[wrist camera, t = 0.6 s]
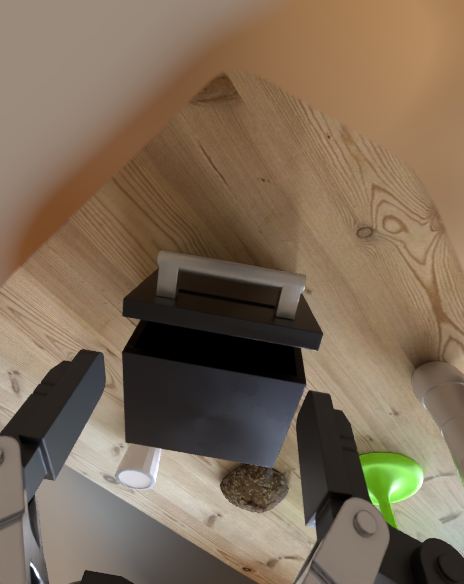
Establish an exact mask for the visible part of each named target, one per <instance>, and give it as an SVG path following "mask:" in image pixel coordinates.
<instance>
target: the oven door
mask: <svg viewBox="0 0 464 584" xmlns="http://www.w3.org/2000/svg"><path fill="white" fill-rule="evenodd" d="M157 267H158V269H157V270H156V271H155V272H153V273H152V274H151V275H150V276H149V277H148V278H146V279H145V280H144V281H143V282H142V283H141V284H140V285H138V286H137V287H136V288H135V289H134V290H133V291H131V292H130V293H129V294H128V295H127V296H126V297H125V298H124V300H123V316H124V317H130V318H135V319H141V320H146V321H152V322H158V323H163V324H169V325H175V326H180V327H186V328H192V329H197V330H203V331H209V332H214V333H220V334H226V335H231V336H237V337H243V338H248V339H254V340H259V341H265V342H271V343H276V344H282V345H288V346H293V347H299V348H305V349H310V350H316V351H318V350H319V346H320V343H321V339H322V336H323V332H322V331H321V329H320V327H319V325H318V323H317V321H316V319H315V317H314V315H313V313H312V311H311V309H310V308H309V306H308V304H307V302H306V300H305V298H304V296H303V294H302V293H303V291H304V288H305V284H306V275H303V274H297V273H292V272H286V271H281V270H275V269H269V268H264V267H258V266H253V265H247V264H241V263H236V262H230V261H225V260H219V259H213V258H208V257H202V256H197V255H191V254H185V253H180V252H174V251H169V250H163V249H161V250H160V251H159V254H158V258H157Z"/></svg>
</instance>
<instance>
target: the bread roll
mask: <svg viewBox="0 0 464 584" xmlns="http://www.w3.org/2000/svg"><path fill="white" fill-rule="evenodd" d="M220 488H221V491H222V493H223V495H224V496H225V498H226V499H228V500H229V502H230V503H232V504H233V505H235V506H236V507H239V508H241V509H245V510H247V511H251V512H257V513H263V512H265V511H269V510H271V509H273V508H274V507H275V506H276V505H277V504H278V503H280V502H281V501H282V500H283V499H284V498H285V496H286V495H287V493H288V489H289V488H288V481H287V480H286V478H284V477H283V475H282V474H280V473H279V472H277V471H275V470H273V469H272V468H269V467H263V466H258V465H252V464H248V465H246V466H243V467H239V468H238V469H236V470H235V471H233V472H231V473H230V474H229V475H228V476H227V477H226V478H225V479H223V480H222V482H221V484H220Z"/></svg>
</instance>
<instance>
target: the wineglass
mask: <svg viewBox="0 0 464 584" xmlns="http://www.w3.org/2000/svg"><path fill="white" fill-rule="evenodd" d="M359 458H360V462H361V466H362V469H363V473H364V477H365V481H366V484H367V488H368V492H369V496H370V499H371V501H372V503H373V505H379V507H380V510H381V514H382V515H383V517H384V519H385V521H386V522H387V523H388V524H390V525H391V526H392V527H394V528H396V529H397V530H399V529H398V526H397V523H396V520H395V517H394V514H393V511H392V507H391V504H390V503H395V502H399V501H401V500H404V499H406V498H408V497H410V496H411V495H413V494H415V493H416V491H417V490H418V489H419V488H420V487H421V484H422V482H423V470H422V469H421V467H420V466H419V464H418V463H416V462H415V461H414V460H412V459H410V458H408V457H405V456H403V455H399V454H394V453H381V452H377V453H368V454H363V455H359Z"/></svg>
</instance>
